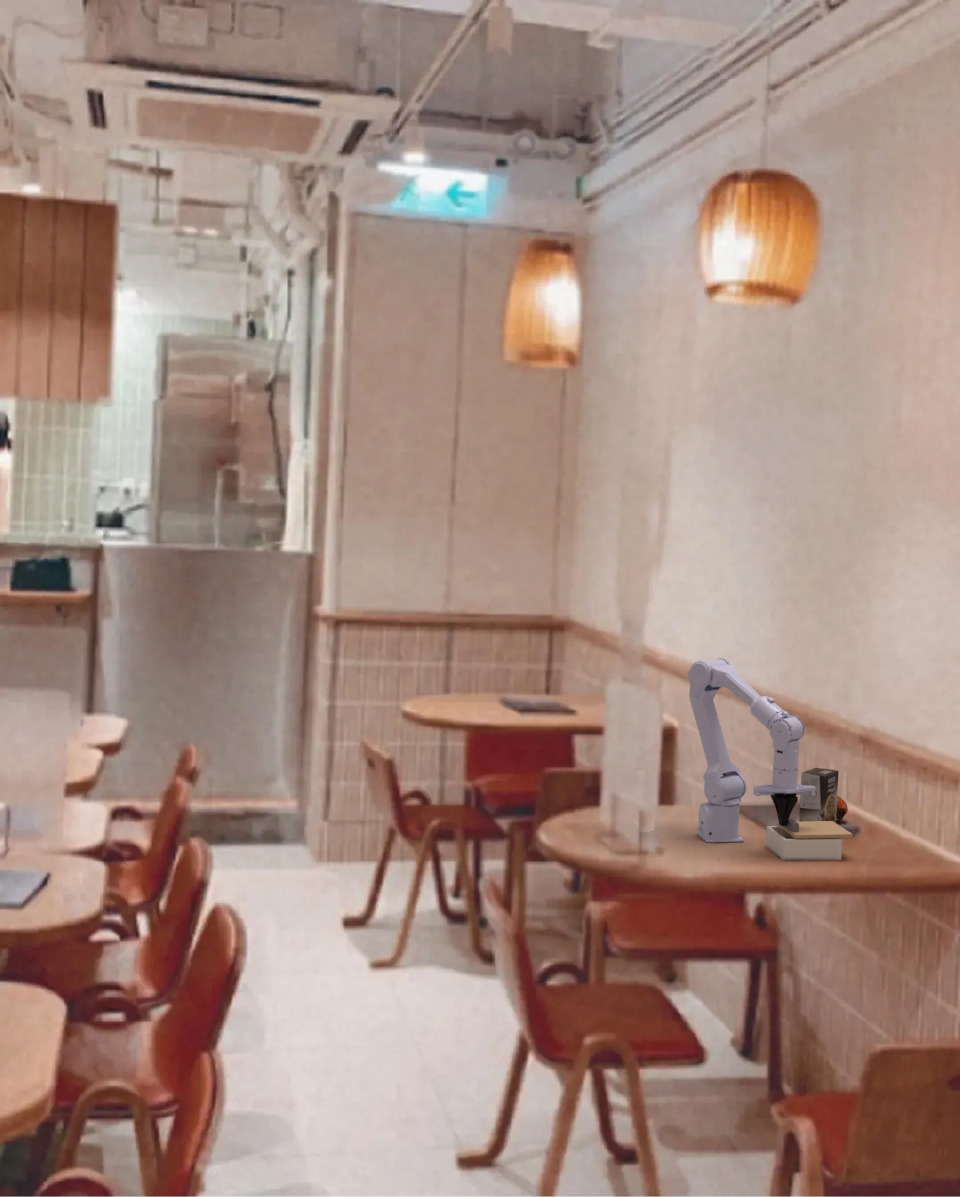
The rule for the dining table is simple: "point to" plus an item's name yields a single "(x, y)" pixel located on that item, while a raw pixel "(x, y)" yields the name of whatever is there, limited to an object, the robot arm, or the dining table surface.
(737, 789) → the robot arm
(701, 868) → the dining table surface
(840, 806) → the pomegranate
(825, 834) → the mailer lid
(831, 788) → the coffee box
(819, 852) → the mailer base
